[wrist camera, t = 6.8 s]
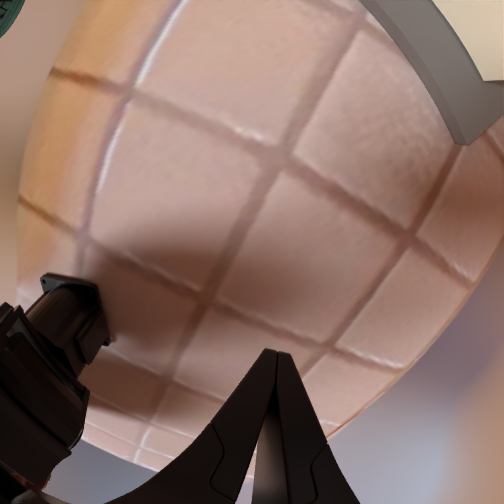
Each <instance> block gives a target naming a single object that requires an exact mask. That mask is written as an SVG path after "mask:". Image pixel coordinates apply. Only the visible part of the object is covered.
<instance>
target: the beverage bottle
mask: <svg viewBox="0 0 504 504" xmlns="http://www.w3.org/2000/svg"><path fill="white" fill-rule="evenodd" d="M24 1H25V0H0V38H1V37H2V36H3V35H4V34H5V33H6V32H7V30H8V29H9V28H10V27H11V25H12V24H13V22H14V20H15V19H16V17H17V16H18V14H19V12H20V10H21V8H22V6H23V4H24Z"/></svg>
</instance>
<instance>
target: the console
mask: <svg viewBox="0 0 504 504" xmlns="http://www.w3.org/2000/svg"><path fill="white" fill-rule="evenodd" d="M359 1H360V2H361V3H362V4H363V5H364V6H365V7H366V8H367V10H368V11H369V12H370V13H371V14H372V15H373V16H374V17H375V18H376V20H377V21H378V22H379V23H380V24H381V25H382V27H383V28H384V29H385V30H386V31H387V33H388V34H389V35H390V36H391V38H392V39H393V40H394V42H395V43H396V44H397V45H398V47H399V48H400V49H401V51H402V52H403V54H404V55H405V56H406V58H407V59H408V61H409V62H410V64H411V65H412V66H413V68H414V69H415V71H416V72H417V74H418V76H419V77H420V79H421V80H422V82H423V83H424V85H425V87H426V88H427V90H428V92H429V93H430V95H431V97H432V99H433V100H434V102H435V104H436V106H437V108H438V109H439V111H440V113H441V115H442V117H443V119H444V121H445V123H446V125H447V127H448V129H449V131H450V133H451V135H452V138H453V140H454V142H455V143H456V144H462V145H467V146H468V145H469V144H470V143H472V142H473V141H474V140H475V139H476V138H477V137H478V136H480V135H481V134H482V133H483V132H484V131H485V130H486V129H488V128H489V127H490V126H491V125H492V124H493V123H494V122H495V121H496V120H497V119H499V118H500V117H501V116H502V115H503V114H504V80H491V81H483V79H482V77H481V75H480V73H479V71H478V69H477V67H476V65H475V63H474V62H473V60H472V58H471V56H470V55H469V53H468V51H467V50H466V48H465V46H464V45H463V43H462V41H461V40H460V38H459V37H458V35H457V34H456V32H455V31H454V29H453V28H452V26H451V25H450V24H449V22H448V21H447V19H446V18H445V17H444V15H443V14H442V13H441V11H440V10H439V9H438V7H437V6H436V5H435V4H434V2H433V1H432V0H359Z"/></svg>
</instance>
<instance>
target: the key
mask: <svg viewBox="0 0 504 504" xmlns="http://www.w3.org/2000/svg"><path fill="white" fill-rule="evenodd" d="M432 1H433V2H434V4H435V5H436V6H437V7H438V9H439V10H440V11H441V13H442V14H443V15H444V17H445V18H446V19H447V21H448V22H449V24H450V25H451V26H452V28H453V29H454V31H455V32H456V34H457V35H458V37H459V38H460V40H461V41H462V43H463V45H464V46H465V48H466V50H467V51H468V53H469V55H470V56H471V58H472V60H473V62H474V63H475V65H476V67H477V69H478V71H479V73H480V75H481V77H482V79H483V81H491V80H504V0H432Z"/></svg>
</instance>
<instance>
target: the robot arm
mask: <svg viewBox="0 0 504 504" xmlns="http://www.w3.org/2000/svg"><path fill="white" fill-rule="evenodd" d="M40 281H41V285H42V288H43V291H44V294H43V295H42V296H41V297H40V298H39V299H38V300H37V301H36V302H35V303H34V304H33V305H32V306H31V307H30V308H29V309H28V310H27V311H26V312H25V313H24V310H23V308H22V307H21V305H18V306H16V307H15V308H13V306H10V305H9V304H8V303H6V302H4V303H3V304H2V305H1V306H0V504H70V503H68V502H65V501H62V500H60V499H58V498H55V497H53V496H50V495H48V494H45V493H44V492H41V491H39V490H37V489H34V488H31V489H28V488H27V487H25V486H24V485H23V484H22V483H20V482H19V481H18V480H17V479H16V478H15V477H13V476H12V475H11V474H18V475H20V476H21V477H22V478H24V479H25V480H27V481H28V482H30V483H31V484H33V485H37V484H39V483H42V482H44V481H45V480H46V479H47V478H48V476H49V475H50V473H51V472H52V470H53V469H54V468H55V466H56V465H57V464H58V463H60V462H61V461H62V460H63V459H65V458H66V457H68V456H70V455H71V453H72V452H71V451H70V450H71V449H72V448H73V447H74V446H75V445H76V444H77V443H78V441H79V440H80V438H81V436H82V434H83V430H84V424H85V418H86V412H87V406H88V401H89V395H90V391H89V390H88V389H87V388H86V387H85V386H83V385H82V384H81V383H80V382H79V381H78V380H77V379H78V377H79V375H80V374H81V372H82V370H83V368H84V367H85V365H86V364H87V365H90V364H91V363H92V361H93V359H94V358H95V356H96V354H97V353H98V351H99V349H100V347H101V346H102V345H103V346H109V345H110V343H111V339H110V335H109V330H108V327H107V323H106V319H105V315H104V311H103V309H102V304H101V300H100V295H99V291H98V288H97V286H96V285H94V284H92V283H86V282H81V281H75V280H70V279H65V278H60V277H55V276H50V275H43V276H42V277H41V278H40ZM91 289H92V290H93V291H92V290H91ZM257 441H258V445H257V455H256V465H255V475H254V485H253V494H252V502H251V504H360V502H359V501H358V499H357V497H356V496H355V495H354V492H353V491H352V489H351V488H350V486H349V484H348V483H347V481H346V479H345V477H344V476H343V474H342V472H341V470H340V468H339V466H338V464H337V462H336V460H335V458H334V456H333V454H332V451H331V449H330V446H329V444H327V439H326V437H325V435H324V432H323V430H322V428H321V425H320V423H319V420H318V418H317V416H316V413H315V411H314V409H313V406H312V404H311V401H310V399H309V397H308V394H307V392H306V390H305V387H304V385H303V382H302V380H301V378H300V375H299V373H298V370H297V368H296V366H295V363H294V361H293V358H292V356H291V354H289V353H285V352H281V351H279V352H277V351H276V350H272V349H268V348H265V349H264V350H263V351H262V353H261V354H260V356H259V357H258V358H257V360H256V361H255V363H254V364H253V365H252V367H251V368H250V370H249V371H248V372H247V374H246V375H245V377H244V378H243V379H242V381H241V382H240V383H239V385H238V386H237V387H236V389H235V390H234V391H233V393H232V394H231V395H230V397H229V398H228V399H227V401H226V402H225V403H224V405H223V406H222V407H221V409H220V410H219V411H218V412H217V414H216V415H215V416H214V418H213V419H212V420H211V422H210V423H209V424H208V425H207V426H206V427H205V429H204V430H203V431H202V432H201V434H200V435H199V436H198V437H197V438H196V439H195V440H194V441H193V443H192V444H191V445H190V446H189V447H187V448H186V449H185V450H184V451H183V452H182V453H181V454H180V455H179V456H178V457H177V458H175V459H174V460H173V461H172V462H171V463H169V464H168V465H167V466H166V467H165V468H163V469H162V470H161V471H160V472H158V473H157V474H156V475H155V476H153V477H152V478H151V479H150V480H148V481H147V482H146V483H144V484H143V485H141V486H140V487H138V488H136V489H134V490H133V491H131V492H129V493H127V494H125V495H123V496H121V497H118V498H116V499H114V500H112V501H110V502H107V503H105V504H235V502H236V501H237V498H238V495H239V493H240V490H241V487H242V484H243V482H244V479H245V476H246V473H247V470H248V468H249V465H250V462H251V459H252V456H253V453H254V450H255V447H256V444H257Z"/></svg>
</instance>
